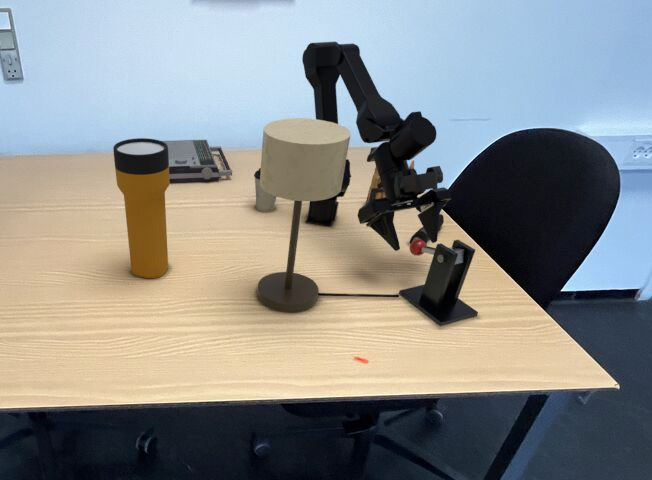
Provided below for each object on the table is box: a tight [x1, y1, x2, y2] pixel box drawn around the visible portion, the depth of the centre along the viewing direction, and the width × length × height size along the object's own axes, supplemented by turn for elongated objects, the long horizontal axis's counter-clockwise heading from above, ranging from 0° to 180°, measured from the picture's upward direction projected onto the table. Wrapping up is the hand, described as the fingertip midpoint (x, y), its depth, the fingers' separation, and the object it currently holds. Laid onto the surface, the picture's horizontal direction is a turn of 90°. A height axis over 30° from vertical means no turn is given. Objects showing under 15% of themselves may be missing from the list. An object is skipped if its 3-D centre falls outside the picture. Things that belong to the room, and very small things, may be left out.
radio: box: [161, 139, 233, 184], centre depth 158 cm, size 24×5×20 cm
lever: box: [408, 239, 464, 264], centre depth 99 cm, size 12×3×3 cm, turn 23°
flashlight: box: [112, 137, 170, 279], centre depth 103 cm, size 10×26×10 cm
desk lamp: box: [256, 117, 400, 314], centre depth 94 cm, size 29×14×32 cm, turn 89°
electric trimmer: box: [409, 213, 445, 245], centre depth 125 cm, size 4×16×3 cm, turn 142°
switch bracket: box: [398, 239, 479, 327], centre depth 98 cm, size 12×9×13 cm
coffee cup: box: [253, 167, 277, 213], centre depth 134 cm, size 7×7×10 cm
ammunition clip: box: [365, 159, 415, 205], centre depth 136 cm, size 11×2×12 cm, turn 93°
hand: (416, 246), depth 103 cm, fingers open, 9 cm apart
